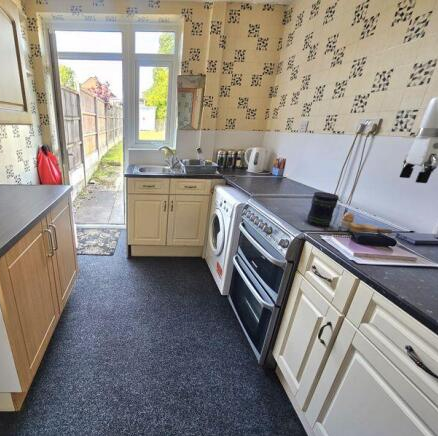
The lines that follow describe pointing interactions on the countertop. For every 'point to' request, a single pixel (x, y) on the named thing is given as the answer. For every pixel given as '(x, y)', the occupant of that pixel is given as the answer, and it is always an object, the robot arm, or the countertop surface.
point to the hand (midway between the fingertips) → (412, 180)
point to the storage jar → (322, 209)
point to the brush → (366, 228)
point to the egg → (346, 220)
